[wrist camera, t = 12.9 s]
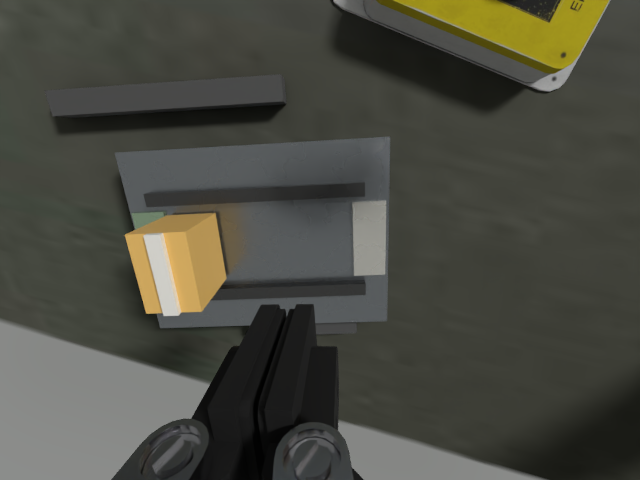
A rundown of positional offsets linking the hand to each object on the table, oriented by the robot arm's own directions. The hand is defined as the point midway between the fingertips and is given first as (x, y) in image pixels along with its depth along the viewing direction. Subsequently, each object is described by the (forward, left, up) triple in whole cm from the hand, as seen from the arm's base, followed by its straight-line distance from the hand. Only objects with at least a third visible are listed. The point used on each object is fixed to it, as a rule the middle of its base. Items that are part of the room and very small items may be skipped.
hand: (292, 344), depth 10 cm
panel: (+3, 0, -12) cm, 13 cm away
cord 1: (+8, -9, -12) cm, 17 cm away
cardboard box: (+7, 0, -10) cm, 12 cm away
